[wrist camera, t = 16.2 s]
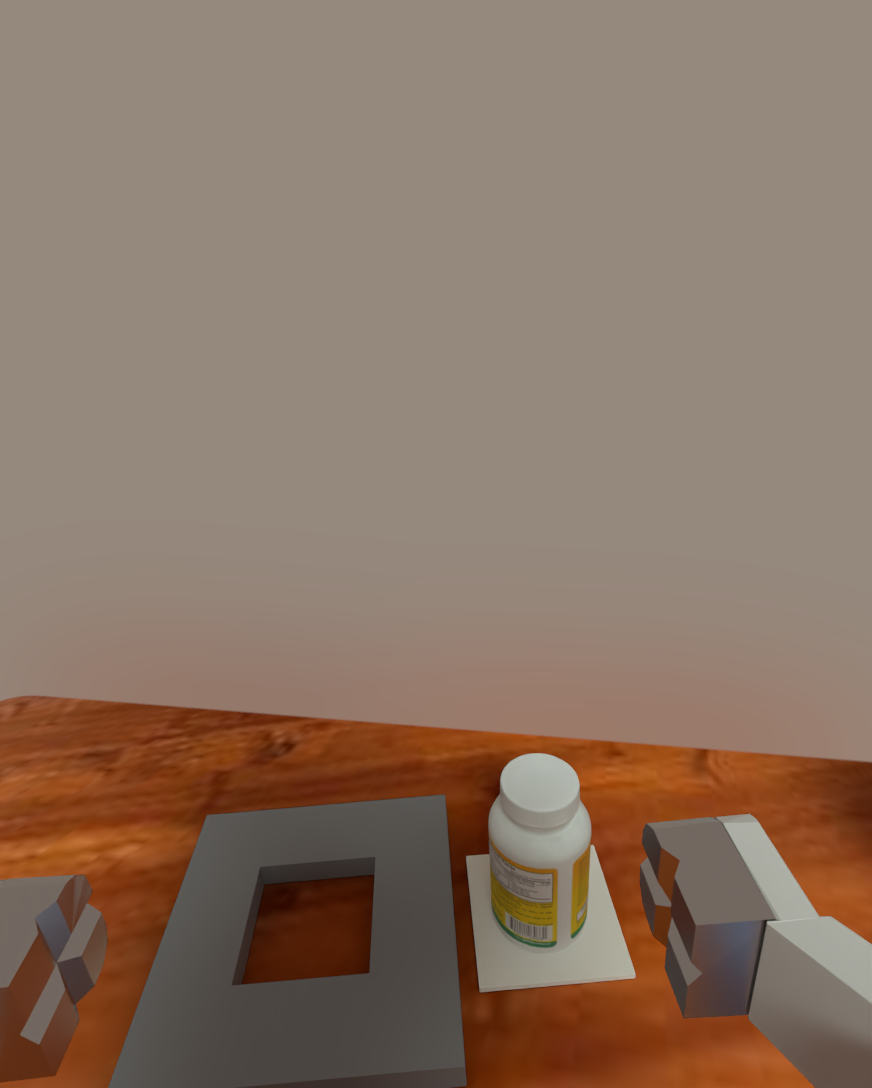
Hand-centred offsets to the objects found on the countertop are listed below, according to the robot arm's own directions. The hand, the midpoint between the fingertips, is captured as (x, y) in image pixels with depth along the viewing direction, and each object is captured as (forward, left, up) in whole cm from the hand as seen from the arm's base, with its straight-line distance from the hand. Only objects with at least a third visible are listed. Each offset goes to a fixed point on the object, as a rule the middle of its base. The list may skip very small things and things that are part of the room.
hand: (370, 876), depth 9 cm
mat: (+6, +18, -26) cm, 32 cm away
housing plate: (-7, +18, -26) cm, 32 cm away
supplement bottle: (+6, +18, -26) cm, 32 cm away
